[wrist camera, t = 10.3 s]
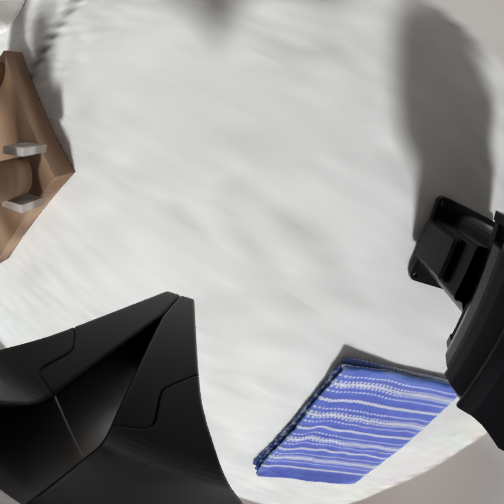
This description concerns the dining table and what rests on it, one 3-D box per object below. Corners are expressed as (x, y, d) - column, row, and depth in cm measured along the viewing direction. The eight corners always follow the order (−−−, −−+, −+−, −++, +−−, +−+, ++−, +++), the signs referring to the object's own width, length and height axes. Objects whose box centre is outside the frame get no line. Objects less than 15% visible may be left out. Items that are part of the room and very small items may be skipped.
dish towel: (250, 460, 32) (247, 476, 30) (339, 347, 23) (343, 370, 21) (354, 475, 33) (355, 489, 30) (463, 378, 23) (472, 395, 21)
